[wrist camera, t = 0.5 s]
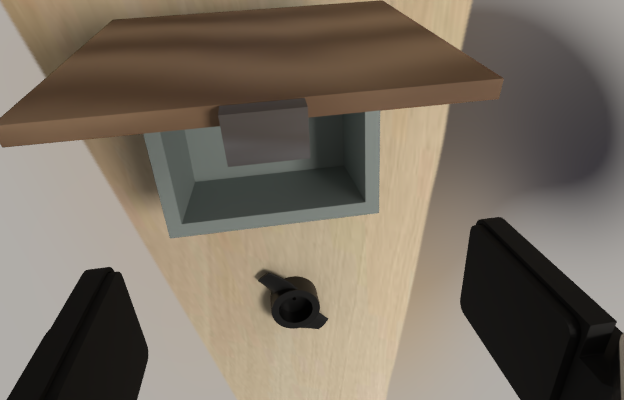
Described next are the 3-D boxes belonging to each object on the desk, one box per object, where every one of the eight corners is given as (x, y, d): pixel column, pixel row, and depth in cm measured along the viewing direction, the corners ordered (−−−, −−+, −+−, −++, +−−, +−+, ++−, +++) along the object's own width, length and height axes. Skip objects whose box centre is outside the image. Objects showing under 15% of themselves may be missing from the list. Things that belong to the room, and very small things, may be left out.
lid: (122, 51, 27) (112, 19, 26) (380, 30, 29) (382, 0, 28) (7, 190, 14) (-24, 138, 13) (503, 137, 15) (517, 87, 14)
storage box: (150, 25, 36) (117, 32, 27) (350, 11, 37) (381, 12, 28) (187, 189, 43) (169, 238, 34) (353, 171, 44) (378, 212, 35)
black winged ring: (319, 256, 49) (323, 270, 46) (327, 318, 53) (331, 334, 51) (256, 267, 48) (256, 282, 46) (269, 329, 53) (270, 346, 50)
